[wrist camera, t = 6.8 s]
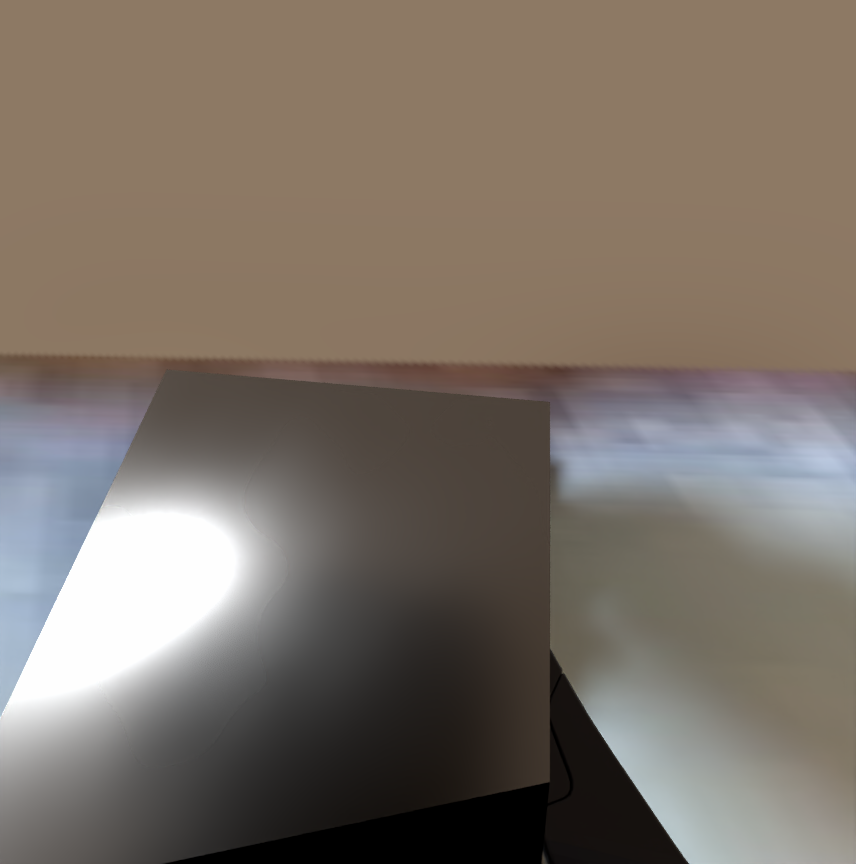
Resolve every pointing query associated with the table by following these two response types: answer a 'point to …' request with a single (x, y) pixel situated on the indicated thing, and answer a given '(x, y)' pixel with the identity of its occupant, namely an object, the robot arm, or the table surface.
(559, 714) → the robot arm
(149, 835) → the block
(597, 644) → the table surface
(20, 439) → the table surface
